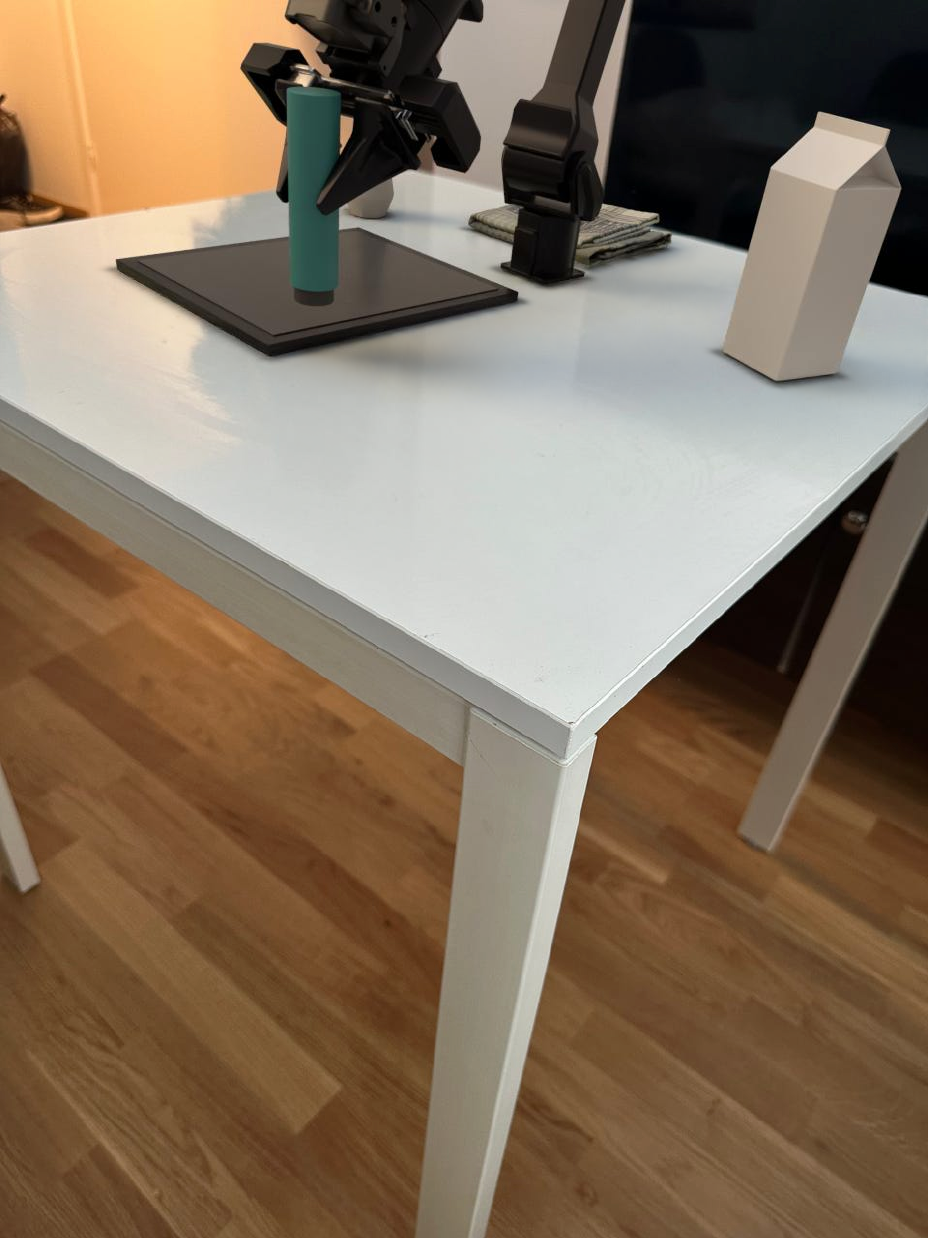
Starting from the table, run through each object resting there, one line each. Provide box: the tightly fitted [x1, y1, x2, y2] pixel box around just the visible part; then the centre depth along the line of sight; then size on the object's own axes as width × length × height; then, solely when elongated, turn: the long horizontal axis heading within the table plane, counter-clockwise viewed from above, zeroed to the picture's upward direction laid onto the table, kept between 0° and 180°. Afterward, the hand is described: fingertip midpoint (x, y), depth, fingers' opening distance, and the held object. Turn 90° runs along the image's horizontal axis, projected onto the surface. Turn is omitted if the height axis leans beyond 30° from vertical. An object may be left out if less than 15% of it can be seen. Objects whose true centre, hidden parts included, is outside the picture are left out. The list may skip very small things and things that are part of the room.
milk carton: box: [721, 111, 902, 382], centre depth 75 cm, size 7×7×19 cm
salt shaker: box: [346, 178, 395, 219], centre depth 105 cm, size 6×6×13 cm
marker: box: [286, 87, 342, 306], centre depth 66 cm, size 4×4×14 cm
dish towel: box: [467, 203, 673, 268], centre depth 107 cm, size 19×18×3 cm
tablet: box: [115, 226, 520, 357], centre depth 85 cm, size 28×24×1 cm
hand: (300, 204), depth 65 cm, fingers closed on marker, 3 cm apart
